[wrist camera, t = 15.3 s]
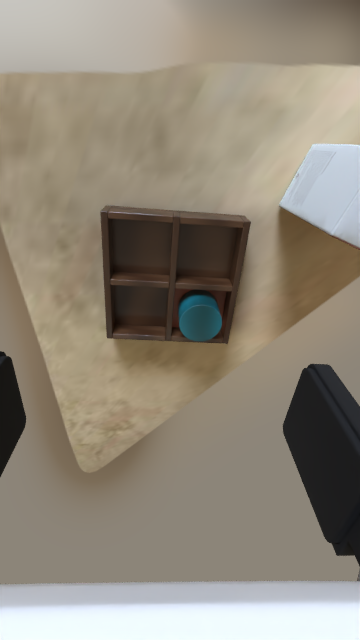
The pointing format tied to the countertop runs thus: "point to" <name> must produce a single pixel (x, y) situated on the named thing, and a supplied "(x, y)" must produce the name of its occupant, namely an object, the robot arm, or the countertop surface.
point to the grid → (168, 268)
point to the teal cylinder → (199, 315)
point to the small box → (328, 191)
